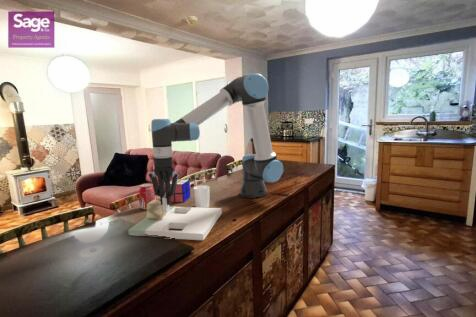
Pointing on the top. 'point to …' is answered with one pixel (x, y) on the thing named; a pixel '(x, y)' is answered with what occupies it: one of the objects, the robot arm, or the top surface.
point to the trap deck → (180, 223)
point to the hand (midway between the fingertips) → (166, 211)
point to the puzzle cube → (181, 191)
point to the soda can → (146, 195)
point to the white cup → (202, 196)
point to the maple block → (155, 210)
